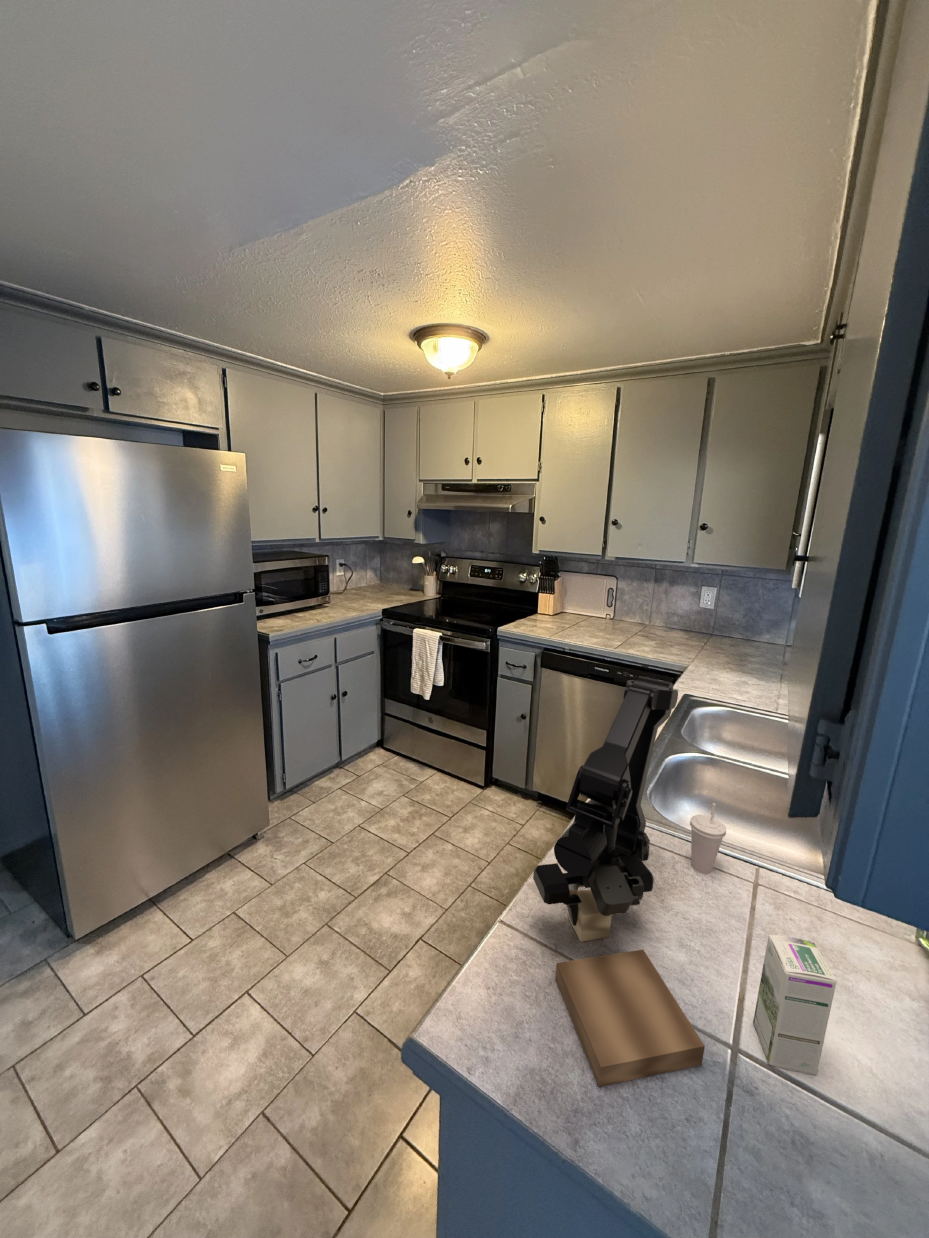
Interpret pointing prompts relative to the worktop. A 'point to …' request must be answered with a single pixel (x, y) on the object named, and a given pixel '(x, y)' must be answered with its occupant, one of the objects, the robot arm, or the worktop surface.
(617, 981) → the walnut base
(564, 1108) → the worktop surface
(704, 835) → the smoothie
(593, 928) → the maple cube
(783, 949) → the syrup box
